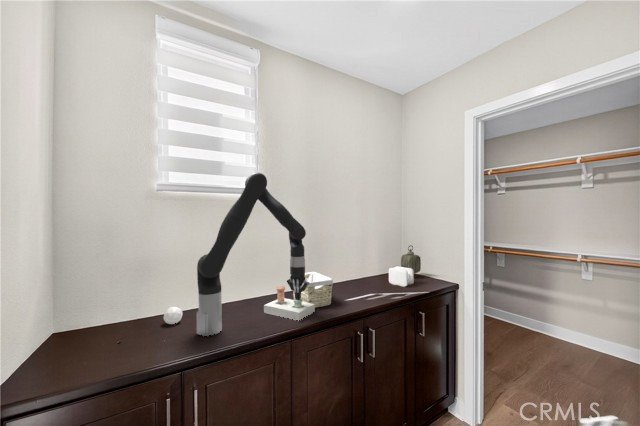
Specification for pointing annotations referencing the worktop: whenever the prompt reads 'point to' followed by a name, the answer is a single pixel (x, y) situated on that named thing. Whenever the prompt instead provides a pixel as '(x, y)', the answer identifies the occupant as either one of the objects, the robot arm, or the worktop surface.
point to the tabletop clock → (411, 261)
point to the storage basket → (317, 289)
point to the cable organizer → (401, 276)
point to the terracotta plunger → (280, 293)
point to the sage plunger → (298, 303)
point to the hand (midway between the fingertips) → (298, 299)
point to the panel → (289, 309)
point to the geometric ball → (173, 315)
